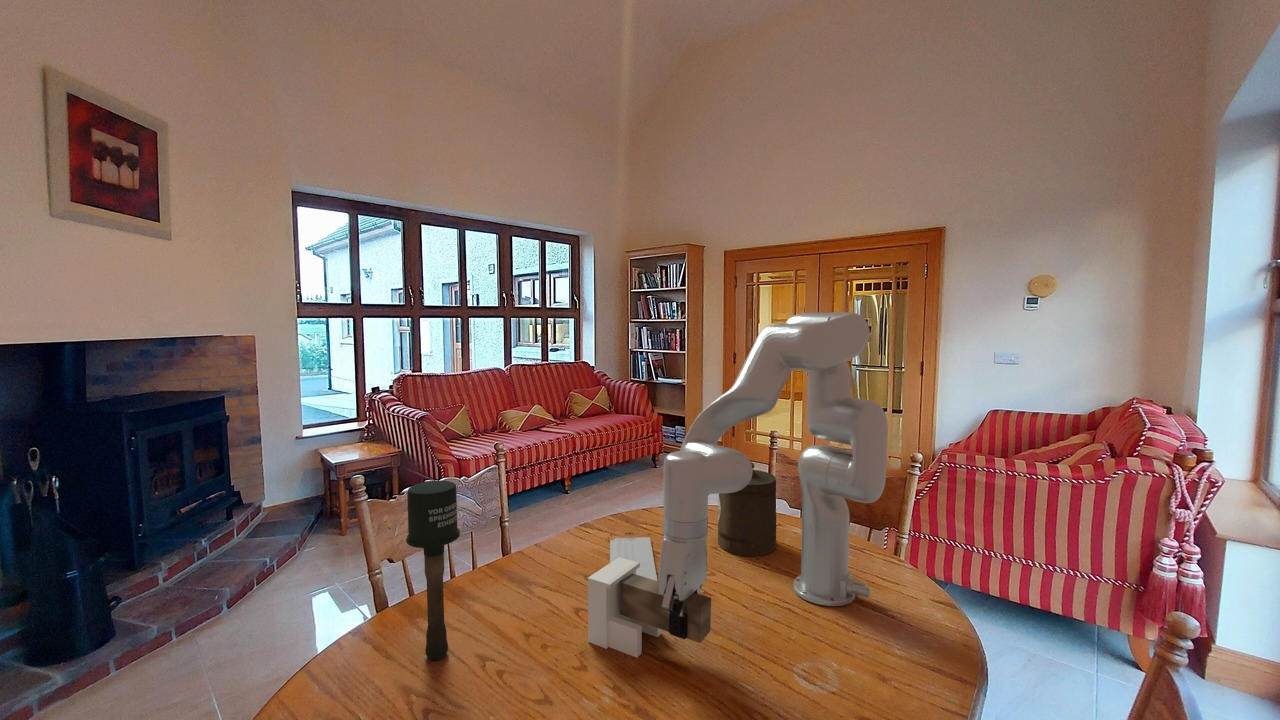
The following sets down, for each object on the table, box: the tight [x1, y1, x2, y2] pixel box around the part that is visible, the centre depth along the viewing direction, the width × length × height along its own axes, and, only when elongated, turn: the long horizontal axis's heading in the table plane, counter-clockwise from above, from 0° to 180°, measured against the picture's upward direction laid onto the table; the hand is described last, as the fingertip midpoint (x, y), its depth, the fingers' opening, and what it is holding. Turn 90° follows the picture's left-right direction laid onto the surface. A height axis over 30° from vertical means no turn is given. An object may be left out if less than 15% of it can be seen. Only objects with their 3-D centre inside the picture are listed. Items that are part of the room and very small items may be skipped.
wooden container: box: [717, 460, 777, 557], centre depth 140 cm, size 15×15×22 cm
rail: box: [620, 573, 712, 644], centre depth 95 cm, size 16×4×6 cm, turn 58°
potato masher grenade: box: [405, 480, 461, 661], centre depth 93 cm, size 8×9×30 cm
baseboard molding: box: [605, 532, 658, 581], centre depth 127 cm, size 31×3×12 cm
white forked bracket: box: [587, 557, 663, 658], centre depth 99 cm, size 10×10×12 cm
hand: (684, 628), depth 93 cm, fingers closed on rail, 4 cm apart
